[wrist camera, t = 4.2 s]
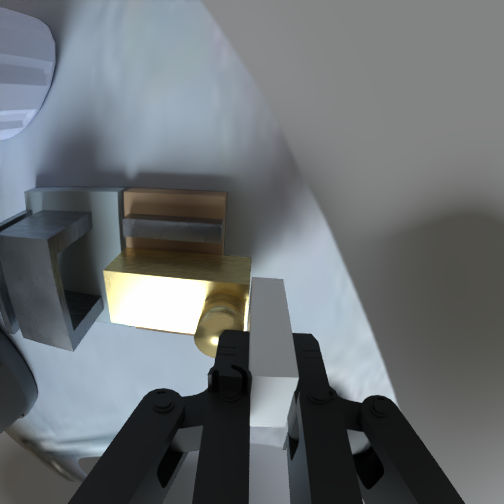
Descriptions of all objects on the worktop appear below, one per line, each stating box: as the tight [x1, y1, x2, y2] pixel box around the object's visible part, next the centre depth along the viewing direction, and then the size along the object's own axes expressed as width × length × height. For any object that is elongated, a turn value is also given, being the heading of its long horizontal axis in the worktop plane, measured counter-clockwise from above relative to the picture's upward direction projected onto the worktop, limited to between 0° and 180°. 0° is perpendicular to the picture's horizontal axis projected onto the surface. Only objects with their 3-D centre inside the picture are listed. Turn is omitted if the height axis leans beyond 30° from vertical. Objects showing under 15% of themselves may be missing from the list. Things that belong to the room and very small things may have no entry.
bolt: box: [103, 247, 251, 358], centre depth 15 cm, size 7×3×5 cm, turn 85°
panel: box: [24, 187, 227, 336], centre depth 18 cm, size 13×9×1 cm
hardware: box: [0, 210, 224, 352], centre depth 15 cm, size 13×7×5 cm, turn 86°
